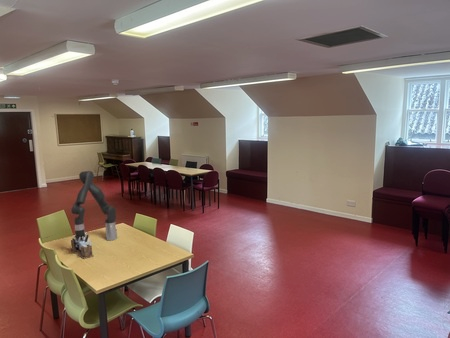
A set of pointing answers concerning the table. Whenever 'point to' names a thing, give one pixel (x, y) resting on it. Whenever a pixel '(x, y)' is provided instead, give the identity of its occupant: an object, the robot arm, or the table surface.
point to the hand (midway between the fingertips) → (81, 247)
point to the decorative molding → (88, 241)
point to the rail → (81, 244)
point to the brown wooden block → (82, 250)
